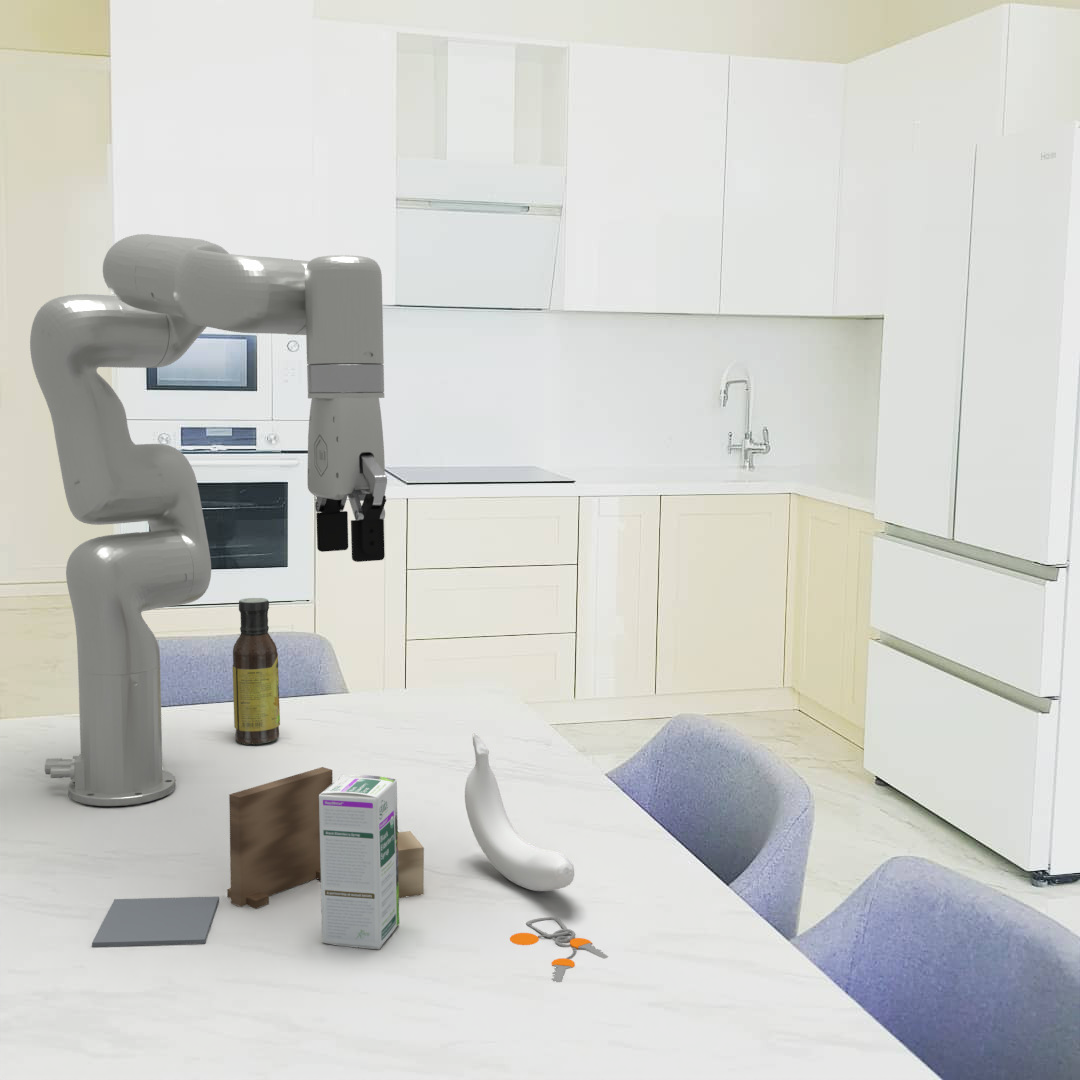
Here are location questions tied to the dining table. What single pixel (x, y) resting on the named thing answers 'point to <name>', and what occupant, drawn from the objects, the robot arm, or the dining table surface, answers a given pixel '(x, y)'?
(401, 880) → the oak cube
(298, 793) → the screen
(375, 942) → the syrup box
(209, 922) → the mat
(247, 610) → the sauce bottle
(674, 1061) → the dining table surface
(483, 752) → the banana
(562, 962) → the key chain
